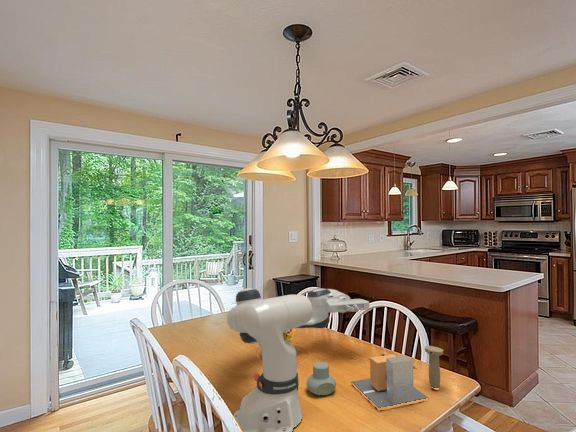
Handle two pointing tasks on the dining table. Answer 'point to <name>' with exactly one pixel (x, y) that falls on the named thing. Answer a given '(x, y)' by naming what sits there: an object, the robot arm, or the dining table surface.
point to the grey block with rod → (399, 379)
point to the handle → (434, 365)
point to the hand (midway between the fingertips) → (355, 309)
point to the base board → (380, 393)
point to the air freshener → (321, 380)
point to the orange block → (379, 372)
